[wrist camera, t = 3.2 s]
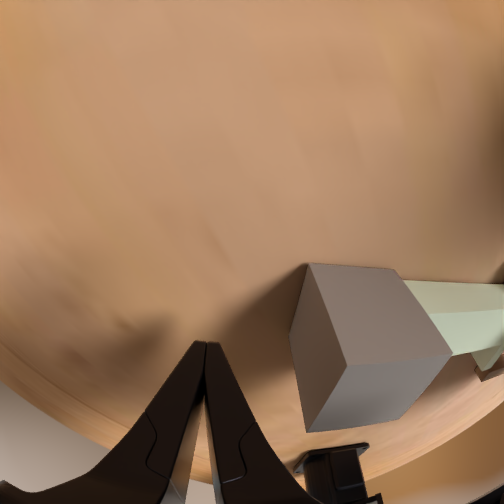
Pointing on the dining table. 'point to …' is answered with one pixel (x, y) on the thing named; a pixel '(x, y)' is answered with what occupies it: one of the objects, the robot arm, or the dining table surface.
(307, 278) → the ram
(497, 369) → the bay
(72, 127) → the dining table surface
